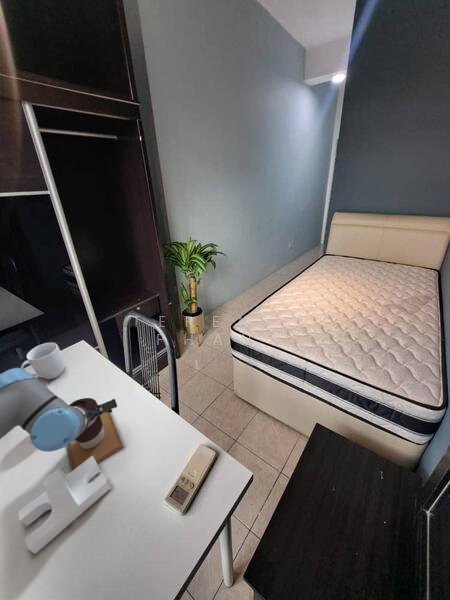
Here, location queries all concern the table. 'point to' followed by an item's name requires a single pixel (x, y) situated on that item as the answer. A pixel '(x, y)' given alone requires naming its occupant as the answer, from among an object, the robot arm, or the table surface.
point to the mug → (45, 361)
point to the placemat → (101, 450)
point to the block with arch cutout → (63, 501)
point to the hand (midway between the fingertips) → (84, 417)
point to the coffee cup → (90, 425)
